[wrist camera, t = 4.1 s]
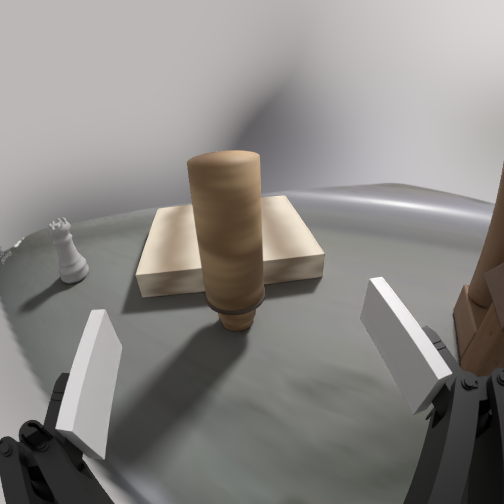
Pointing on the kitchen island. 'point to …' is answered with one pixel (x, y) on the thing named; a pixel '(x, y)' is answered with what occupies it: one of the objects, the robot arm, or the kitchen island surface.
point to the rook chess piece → (67, 253)
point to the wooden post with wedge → (484, 303)
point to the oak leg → (229, 233)
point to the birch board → (188, 259)
